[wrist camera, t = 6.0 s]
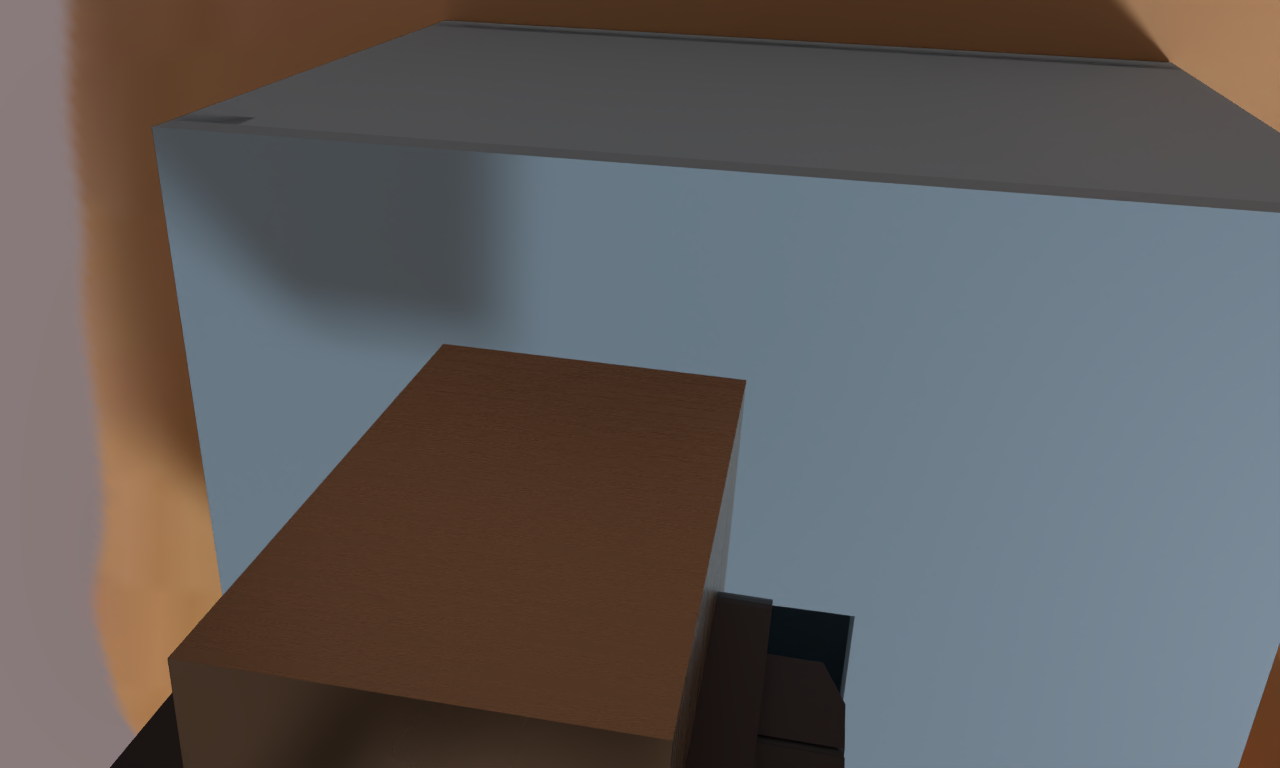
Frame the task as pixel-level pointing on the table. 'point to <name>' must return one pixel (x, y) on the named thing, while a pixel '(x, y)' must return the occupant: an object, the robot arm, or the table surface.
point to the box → (806, 341)
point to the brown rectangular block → (484, 580)
